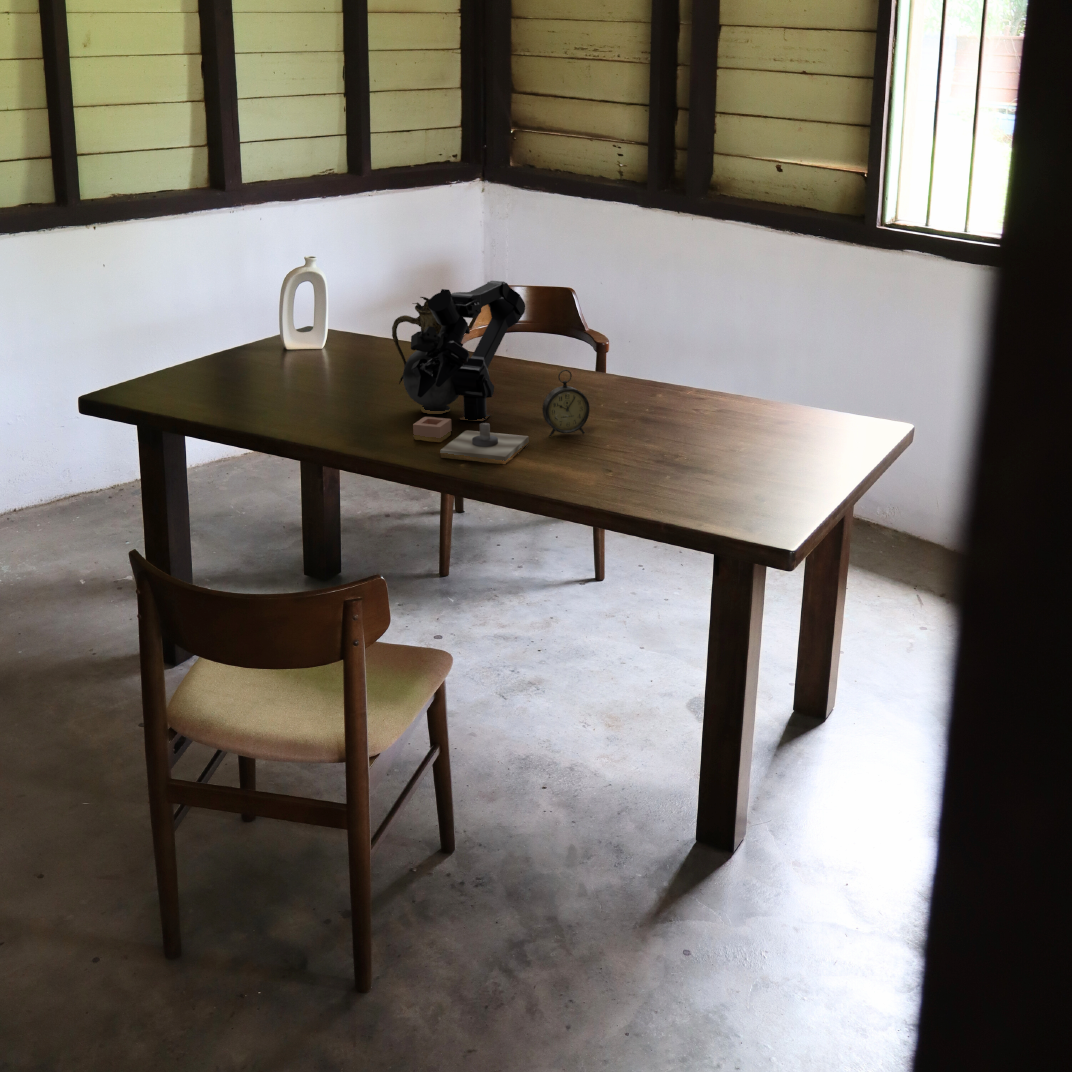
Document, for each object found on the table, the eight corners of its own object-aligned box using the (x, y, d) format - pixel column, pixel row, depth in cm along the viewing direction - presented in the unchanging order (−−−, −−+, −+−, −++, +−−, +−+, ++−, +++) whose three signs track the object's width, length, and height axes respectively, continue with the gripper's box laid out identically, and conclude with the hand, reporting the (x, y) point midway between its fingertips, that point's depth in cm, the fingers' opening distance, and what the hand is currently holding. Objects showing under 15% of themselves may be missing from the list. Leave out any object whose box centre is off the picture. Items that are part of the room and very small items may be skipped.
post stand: (466, 438, 287) (465, 412, 284) (528, 444, 282) (528, 417, 279) (440, 458, 273) (439, 431, 270) (505, 465, 268) (505, 437, 265)
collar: (425, 432, 291) (424, 416, 290) (451, 434, 289) (451, 418, 288) (413, 440, 285) (412, 424, 284) (440, 443, 283) (439, 427, 282)
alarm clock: (546, 439, 285) (546, 374, 279) (540, 433, 290) (540, 368, 284) (589, 435, 288) (590, 370, 282) (583, 429, 293) (583, 365, 286)
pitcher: (454, 419, 301) (450, 302, 290) (387, 413, 307) (380, 297, 296) (471, 408, 310) (467, 294, 299) (405, 402, 316) (399, 289, 305)
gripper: (404, 332, 287) (382, 384, 282) (441, 306, 272) (417, 362, 266) (442, 355, 292) (420, 408, 286) (479, 332, 277) (457, 387, 271)
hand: (427, 391), depth 277 cm, fingers open, 9 cm apart
